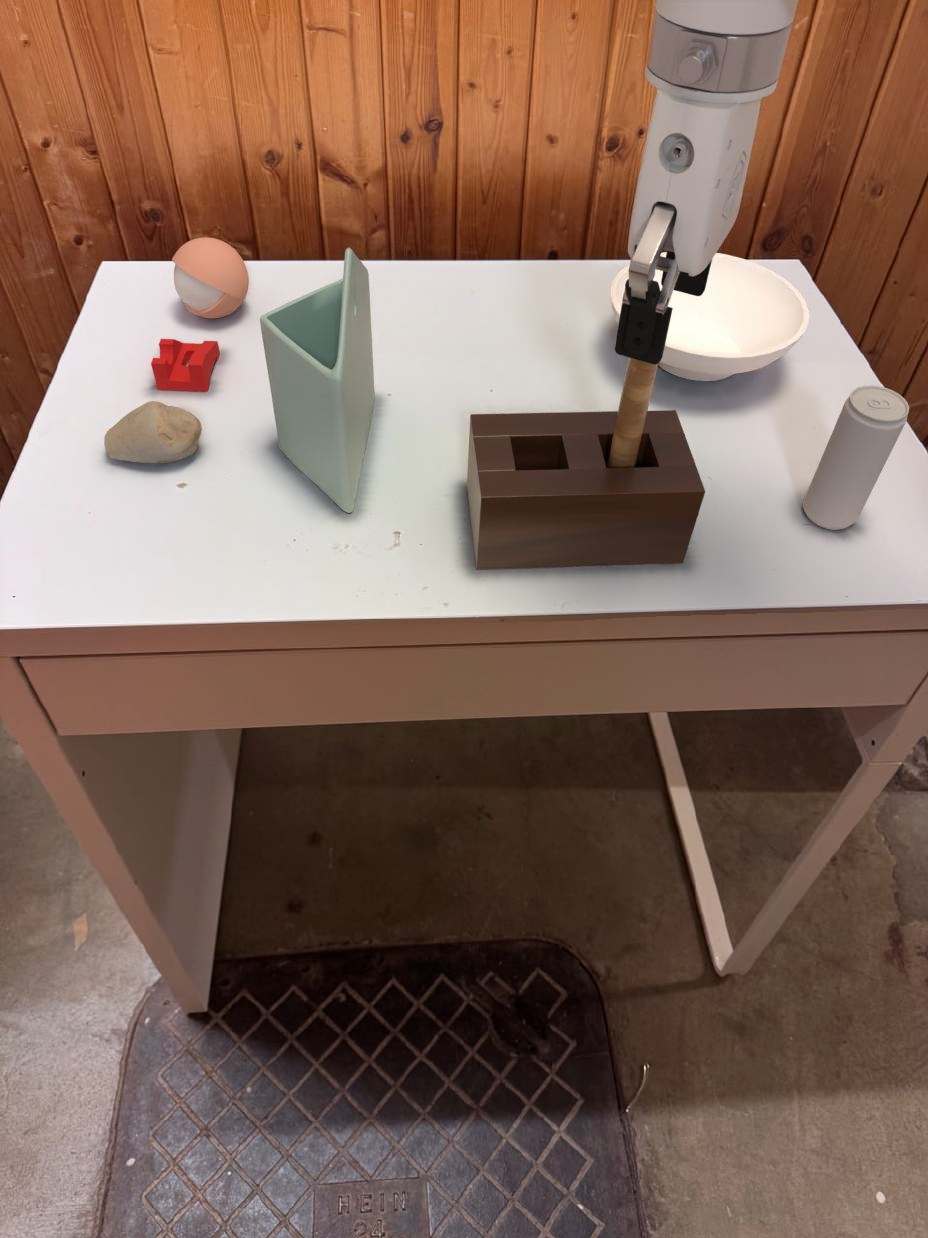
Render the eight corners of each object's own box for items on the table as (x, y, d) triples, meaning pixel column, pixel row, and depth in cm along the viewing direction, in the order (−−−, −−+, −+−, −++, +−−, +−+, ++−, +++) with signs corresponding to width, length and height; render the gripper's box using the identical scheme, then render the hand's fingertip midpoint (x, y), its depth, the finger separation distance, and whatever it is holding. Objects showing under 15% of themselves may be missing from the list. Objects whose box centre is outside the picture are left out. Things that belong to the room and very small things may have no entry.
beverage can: (794, 495, 83) (841, 383, 74) (847, 496, 84) (900, 384, 74) (808, 532, 80) (858, 420, 71) (863, 533, 80) (919, 422, 71)
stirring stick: (625, 517, 81) (672, 311, 65) (616, 533, 79) (662, 326, 64) (602, 509, 81) (643, 303, 66) (592, 524, 80) (633, 318, 65)
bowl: (594, 403, 91) (604, 343, 86) (605, 299, 104) (615, 240, 98) (795, 428, 90) (818, 368, 84) (782, 319, 102) (801, 261, 97)
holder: (683, 563, 77) (705, 491, 71) (476, 569, 76) (481, 497, 70) (657, 481, 84) (676, 409, 78) (466, 486, 83) (470, 413, 77)
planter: (294, 393, 90) (269, 192, 75) (375, 398, 90) (365, 198, 75) (261, 508, 80) (224, 300, 65) (353, 513, 80) (336, 307, 65)
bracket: (207, 391, 90) (201, 365, 88) (157, 389, 90) (150, 363, 88) (219, 353, 94) (214, 327, 92) (172, 351, 94) (166, 325, 92)
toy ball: (166, 307, 99) (149, 236, 93) (229, 284, 103) (217, 215, 97) (203, 341, 96) (188, 270, 90) (267, 316, 99) (257, 246, 93)
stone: (155, 503, 84) (213, 443, 81) (94, 462, 80) (152, 398, 77) (158, 465, 89) (212, 409, 86) (101, 425, 85) (155, 365, 83)
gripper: (739, 117, 46) (673, 403, 59) (816, 17, 56) (745, 279, 69) (598, 88, 48) (564, 370, 61) (696, -3, 58) (649, 255, 71)
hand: (660, 322), depth 65 cm, fingers open, 9 cm apart
